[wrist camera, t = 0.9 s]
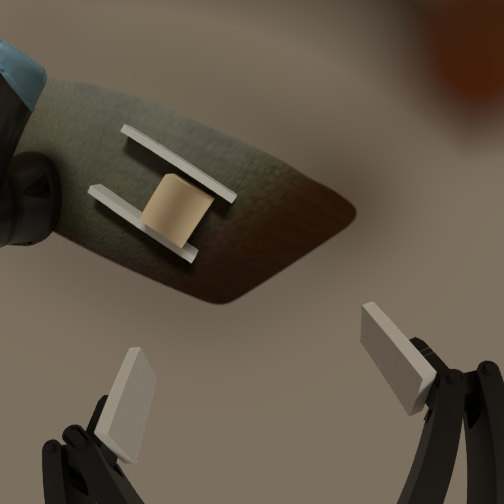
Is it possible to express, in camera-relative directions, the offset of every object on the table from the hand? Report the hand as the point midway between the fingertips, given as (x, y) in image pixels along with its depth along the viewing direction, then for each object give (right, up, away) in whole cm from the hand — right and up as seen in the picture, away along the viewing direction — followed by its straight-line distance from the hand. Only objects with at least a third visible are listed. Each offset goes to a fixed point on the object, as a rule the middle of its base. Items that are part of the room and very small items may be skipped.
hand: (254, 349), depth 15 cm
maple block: (-9, +12, +20) cm, 25 cm away
